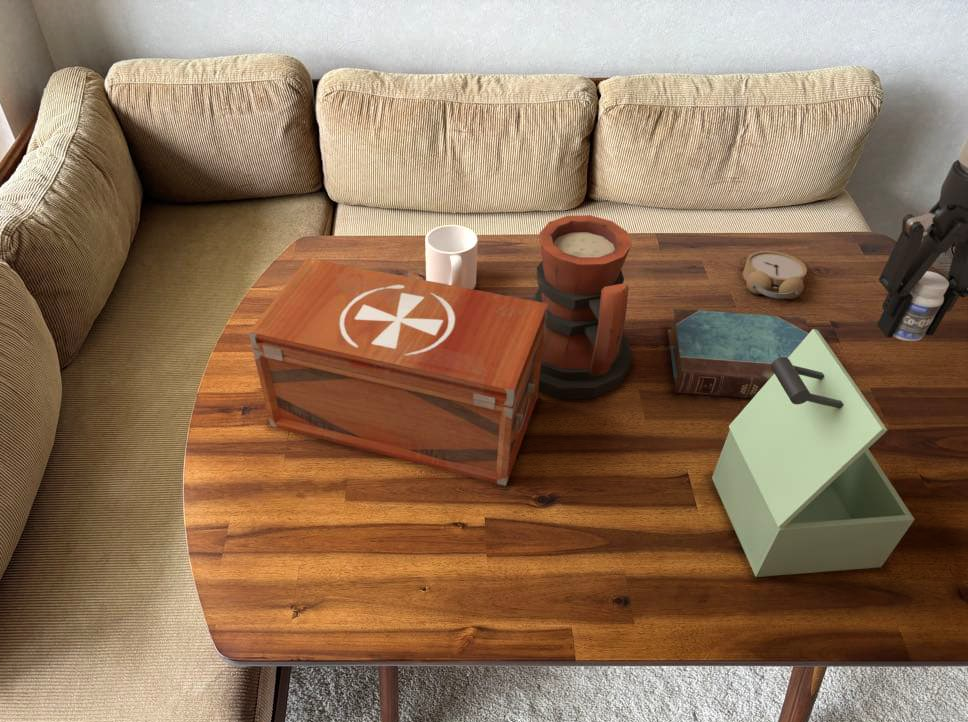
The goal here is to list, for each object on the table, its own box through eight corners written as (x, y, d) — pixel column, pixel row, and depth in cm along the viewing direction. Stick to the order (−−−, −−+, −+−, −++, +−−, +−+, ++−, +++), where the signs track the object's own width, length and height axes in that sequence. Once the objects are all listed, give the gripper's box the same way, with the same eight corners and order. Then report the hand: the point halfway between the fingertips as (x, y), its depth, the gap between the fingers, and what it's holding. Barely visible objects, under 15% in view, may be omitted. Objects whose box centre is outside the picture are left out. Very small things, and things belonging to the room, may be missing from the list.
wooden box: (320, 349, 140) (306, 256, 126) (539, 397, 130) (550, 302, 116) (268, 426, 127) (245, 331, 113) (508, 487, 117) (516, 391, 102)
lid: (818, 329, 97) (766, 316, 95) (887, 430, 85) (830, 417, 83) (732, 427, 109) (685, 417, 107) (783, 528, 97) (730, 519, 94)
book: (675, 394, 130) (682, 372, 127) (667, 329, 142) (673, 307, 139) (816, 406, 128) (827, 384, 124) (796, 338, 140) (805, 316, 136)
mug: (423, 271, 157) (422, 227, 150) (471, 266, 158) (472, 222, 151) (431, 308, 148) (430, 263, 141) (482, 303, 149) (484, 258, 142)
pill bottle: (891, 342, 101) (919, 290, 95) (879, 319, 105) (905, 268, 99) (929, 343, 101) (959, 291, 95) (915, 320, 104) (943, 269, 98)
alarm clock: (805, 255, 154) (812, 286, 142) (797, 277, 156) (803, 310, 145) (746, 246, 156) (748, 276, 144) (740, 268, 159) (741, 300, 147)
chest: (824, 469, 118) (850, 420, 110) (881, 567, 105) (914, 519, 98) (711, 478, 117) (729, 429, 109) (755, 577, 105) (779, 529, 97)
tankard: (599, 310, 147) (619, 194, 130) (660, 398, 130) (693, 277, 112) (490, 330, 143) (495, 214, 126) (537, 423, 126) (552, 303, 109)
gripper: (1048, 149, 89) (954, 309, 106) (897, 155, 89) (827, 315, 105) (1091, 181, 84) (986, 344, 100) (931, 188, 83) (851, 351, 100)
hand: (904, 329), depth 103 cm, fingers closed on pill bottle, 5 cm apart
